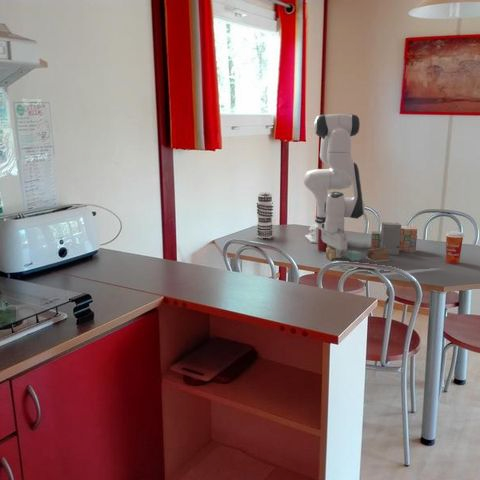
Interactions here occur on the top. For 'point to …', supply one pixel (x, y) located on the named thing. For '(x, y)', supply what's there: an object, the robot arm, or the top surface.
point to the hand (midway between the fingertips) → (333, 255)
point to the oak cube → (332, 253)
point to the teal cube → (354, 255)
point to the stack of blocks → (406, 239)
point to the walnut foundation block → (377, 254)
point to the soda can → (321, 244)
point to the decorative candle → (264, 215)
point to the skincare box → (390, 237)
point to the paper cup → (453, 246)
